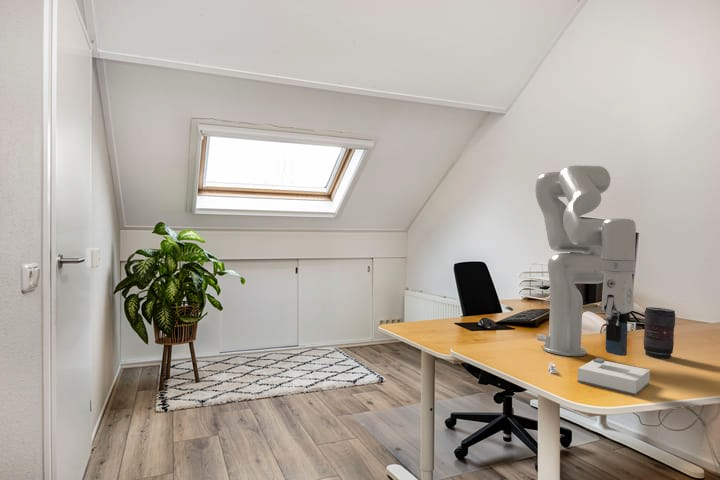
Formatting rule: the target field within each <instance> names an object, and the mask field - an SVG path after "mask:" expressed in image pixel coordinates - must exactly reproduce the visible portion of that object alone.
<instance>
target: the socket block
mask: <svg viewBox="0 0 720 480" xmlns="http://www.w3.org/2000/svg"><path fill="white" fill-rule="evenodd" d="M650 375H651V369H647V368H643V367H637V366H632V365H628V364H623V363H617V362H612V361H607V360H605V359H603V358H600V357H599V358H598V357H596V358H595V359H592V360H591V361H589V362H587V363H585V364H583V365H581V366H579V367H578V368H577V383H580V384H585V385H589V386H593V387H598V388H602V389H606V390H610V391H614V392H619V393H623V394H627V395H632V396H637V395H638V394H639V393H640V392H641V391H643V390H644V389H645V388H646V387H647V386H648V385H649V384H650V380H651V379H650Z"/></svg>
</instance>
